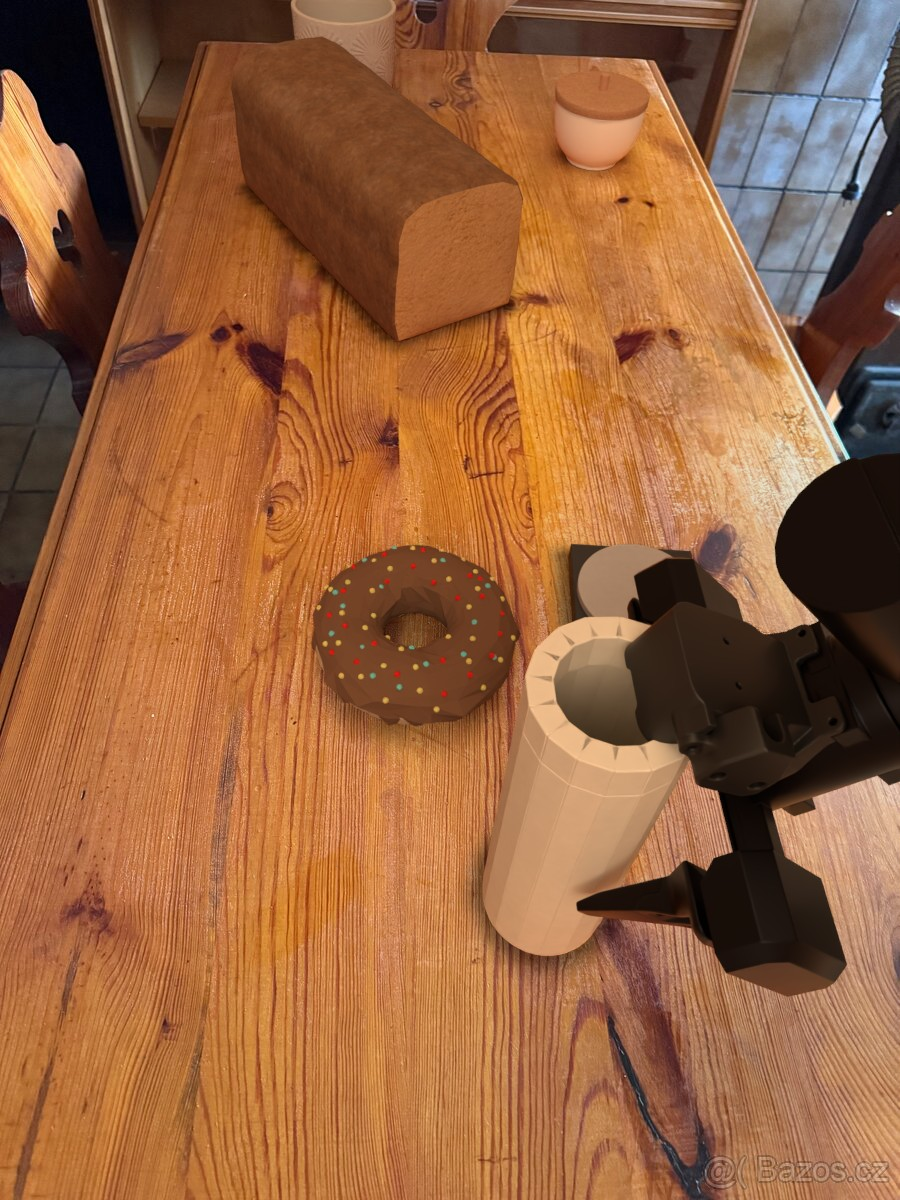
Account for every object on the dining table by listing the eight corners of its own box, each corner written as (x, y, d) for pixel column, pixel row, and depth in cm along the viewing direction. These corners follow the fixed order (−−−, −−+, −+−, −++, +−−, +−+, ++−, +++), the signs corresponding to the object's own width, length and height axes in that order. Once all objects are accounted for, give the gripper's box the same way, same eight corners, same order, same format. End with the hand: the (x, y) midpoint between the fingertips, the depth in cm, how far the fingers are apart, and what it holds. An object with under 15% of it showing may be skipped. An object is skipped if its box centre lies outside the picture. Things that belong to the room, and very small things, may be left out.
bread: (393, 350, 82) (393, 201, 71) (239, 185, 99) (219, 44, 88) (517, 308, 87) (535, 162, 76) (350, 158, 104) (344, 21, 93)
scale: (702, 664, 62) (711, 646, 60) (573, 657, 62) (578, 639, 60) (685, 564, 67) (693, 545, 66) (567, 557, 67) (572, 538, 66)
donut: (291, 604, 63) (284, 559, 59) (469, 558, 67) (474, 512, 63) (350, 776, 55) (347, 736, 51) (549, 713, 59) (560, 671, 55)
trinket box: (566, 130, 111) (578, 47, 104) (647, 152, 109) (665, 68, 101) (532, 165, 105) (543, 80, 98) (617, 189, 103) (634, 103, 95)
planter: (368, 74, 119) (366, -22, 110) (413, 112, 112) (415, 14, 104) (282, 90, 114) (273, -8, 106) (324, 130, 108) (318, 30, 100)
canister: (626, 924, 50) (746, 729, 33) (517, 977, 48) (585, 800, 31) (564, 818, 54) (644, 594, 37) (461, 864, 52) (494, 649, 35)
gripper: (738, 417, 36) (449, 588, 44) (901, 869, 24) (469, 989, 32) (848, 548, 42) (580, 675, 50) (1016, 950, 31) (635, 1033, 39)
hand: (569, 813), depth 43 cm, fingers open, 9 cm apart
